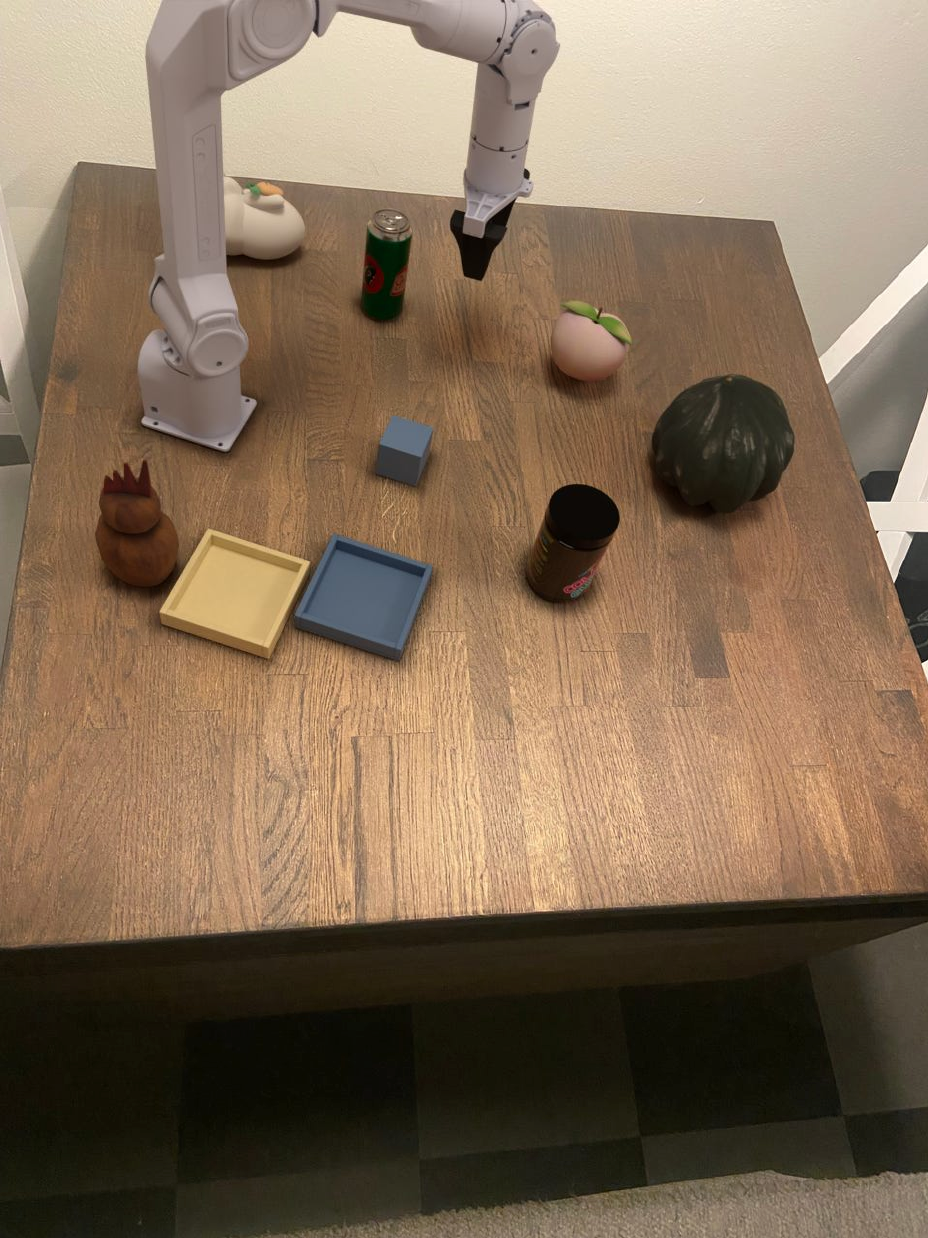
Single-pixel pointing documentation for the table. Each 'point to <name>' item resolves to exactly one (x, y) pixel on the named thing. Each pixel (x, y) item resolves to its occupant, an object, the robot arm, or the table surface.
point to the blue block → (404, 450)
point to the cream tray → (236, 593)
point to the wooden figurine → (135, 530)
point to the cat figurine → (260, 221)
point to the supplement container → (571, 541)
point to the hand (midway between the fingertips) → (483, 255)
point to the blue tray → (364, 597)
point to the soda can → (386, 264)
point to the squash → (724, 442)
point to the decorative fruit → (588, 342)
